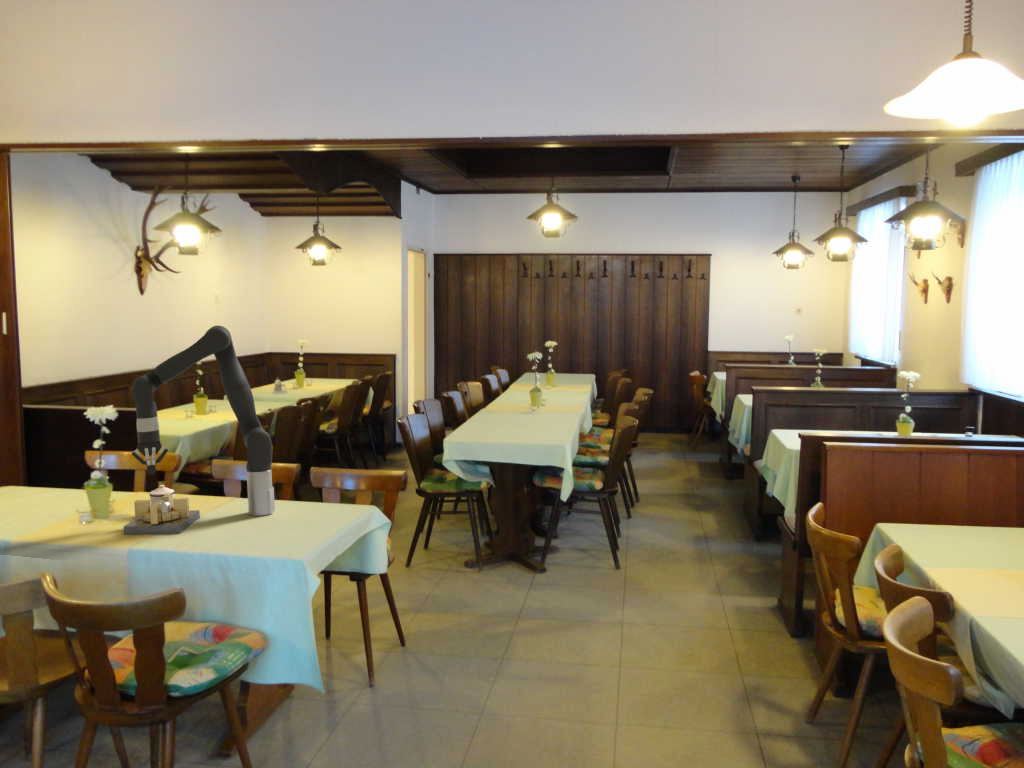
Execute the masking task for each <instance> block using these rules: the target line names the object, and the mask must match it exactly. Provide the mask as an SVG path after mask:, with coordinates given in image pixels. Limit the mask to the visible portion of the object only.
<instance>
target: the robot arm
mask: <svg viewBox="0 0 1024 768" xmlns="http://www.w3.org/2000/svg"><path fill="white" fill-rule="evenodd" d="M212 355H214V357H215V361H216V362H217V365H218V370H219V375H220V379H221V380H220V381H221V384H222V387H223V391H224V393H225V395H226V398H227V401H228V403H229V405H230V408H231V409H232V412H233V414H234V415H235V418H236V419H237V421H238V425H239V428H240V432H241V434H242V440H243V443H244V446H245V448H246V450H247V451H246V453H247V455H246V456H247V462H246V464H245V465H246V484H247V487H246V489H247V504H248V515H250V516H253V517H255V516H256V517H258V516H259V517H260V516H261V517H262V516H267V515H268V516H269V515H272V514H273V513H274V512H275V511H276V507H275V491H274V490H275V487H274V486H273V479H272V478H273V475H272V474H273V473H272V463H273V443H272V438H271V436H270V434H269V433H268V432H267V431H266V430H265V429H264V428H263V426H262V424H261V422H260V420H259V416H258V415H257V411H256V404H255V400H254V395H253V391H252V388H251V386H250V383H249V380H248V379H247V376H246V374H245V371H244V368H243V367H242V365H241V363H240V362H239V360H238V357H237V354H236V350H235V347H234V342H233V339H232V335H231V333H230V331H229V329H227V328H226V327H224V326H222V325H214V326H211V327H210V328H209V329H208V330H206V332H205V333H204V334H203V335H202V336H201V337H200V338H199V339H198V340H197V341H196V342H194V343H193V344H192V345H190V346H188V347H187V348H185V349H184V350H181V351H180V352H178V353H176V354H174V355H172V356H170V357H169V358H168V359H166V360H164V361H163V362H161V363H160V364H158V365H157V366H156V367H154V369H152V370H151V371H149V372H146V373H145V374H143V375H141V376H139V377H137V378H135V379H134V380H133V381H132V384H131V385H132V386H131V390H132V391H131V392H132V396H133V400H134V404H135V412H136V434H137V446H136V449H135V450H134V451H131V456H132V457H134V458H135V459H136V460H137V461H138V462H140V464H142V465H145V466H146V469H147V474H148V475H149V476H152V475H153V476H154V475H155V474H156V472H157V468H156V465H157V464H158V463H161V461H162V460H163V459H164V457H165V455H167V453H168V451H169V448H168V447H165V446H163V445H162V442H161V437H160V434H161V433H160V425H159V424H160V423H159V418H158V410H157V408H158V407H157V403H156V401H154V392H155V391H156V390H158V389H160V388H161V387H162V386H163V385H164V384H166V383H169V382H170V381H171V380H173V379H175V378H177V377H178V376H179V375H181V374H183V373H184V372H186V371H187V370H188V369H190V368H191V367H192V366H194V365H195V364H197V363H199V362H200V361H202V360H203V359H206V358H208V357H210V356H212ZM159 452H161V453H160V454H159ZM140 453H141V455H142V456H144V457H145V460H144V459H143V458H142V457H141V456H140ZM158 454H159V456H158V457H157V458H156V455H158ZM150 456H151V458H150Z"/></svg>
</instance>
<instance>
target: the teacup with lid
mask: <svg viewBox="0 0 1024 768" xmlns="http://www.w3.org/2000/svg"><path fill="white" fill-rule="evenodd" d="M169 493H170V494H173V500H174V499H175V490H174V489H172V488H169V487H166V486H165V485H164V484H159V486H158V487H157V488H155V489H154V490H151V491H150V492H149V494H148V495H149V497H150V498H149V500H150V506H151V505H153V503H154V502H156V501H162V497H163V496H164V495H165V494H169ZM173 506H174V504H173Z"/></svg>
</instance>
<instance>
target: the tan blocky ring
mask: <svg viewBox="0 0 1024 768" xmlns="http://www.w3.org/2000/svg"><path fill="white" fill-rule="evenodd" d="M162 500H169V501H171V512H169V513H162V510H161V503H154V504H153V505H151V501H150V499H137V500H135V501H134V502H133V503H134V504H133V505H134V507H133V508H134V519H143V520H144V521H147V522H151V524H158V523H160V522H163V521H169V520H174V519H177V518H179V517H188V516H189V515H190V513H189V511H190V499H189V497H184V498H183V497H182V498H174V500H173V494H170V493H169V494H165V495H164V496H163V497H162ZM173 504H174V506H173Z"/></svg>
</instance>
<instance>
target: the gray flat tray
mask: <svg viewBox="0 0 1024 768" xmlns="http://www.w3.org/2000/svg"><path fill="white" fill-rule="evenodd" d="M154 503H161V510H162V513H169V512H171V501H169V500H162V501H156V502H154ZM154 503H153V504H154ZM189 513H190V515H189V516H188V517H179V518H177V519H174V520H169V521H163V522H160V523H158V524H151V522H147V521H144V520H143V519H135V518H134V519H133V520H131V521H130V522H128V523H127V524H124V526H123V535H125V536H127V535H131V536H132V535H158V534H159V535H163V534H166V535H167V534H168V535H169V534H171V535H172V534H181V533H183V532H184V531H186V530H187V529H188V528H189V527H191V526H192V525H193V524H195V522H197V521H198V520H199V519H201V514H200V513H201V512H200V509H197V510H196V509H195V510H193V509H192V510H189Z"/></svg>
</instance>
